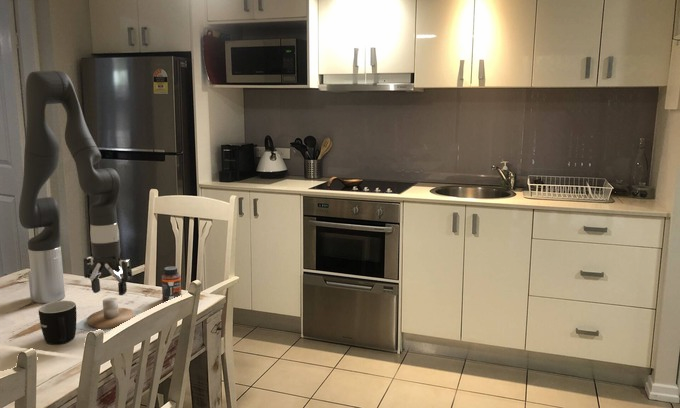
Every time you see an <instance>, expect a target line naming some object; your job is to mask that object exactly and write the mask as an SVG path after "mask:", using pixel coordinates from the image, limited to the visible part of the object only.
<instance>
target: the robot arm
mask: <svg viewBox="0 0 680 408" xmlns="http://www.w3.org/2000/svg"><path fill="white" fill-rule="evenodd" d="M25 104H26V105H25V106H26V107H25V108H26V129H25V130H26V131H25V132H26V133H25V142H24V153H23V154H24V156H23V178H22V186H21V194H20V200H19V204H18V219H19V223H20V225H21V227H22V228H24V229H27V230H29V229H31V230H32V229H40V228H43V230H42V231H40V232H39V233H38V234H37V235H34V236H33V237H30V239H28V241H27V249H28V250H27V251H28V258H29V259H28V260H29V268H30V270H29V271H28V272H27V275H28V285H29V295H30V300H31V301H33V302H34V303H38V304H47V303H50V302H55V301H62V300H63V299H64V298H65V297H66V293H65V292H66V290H65V280H64V279H65V278H64V268H63V267H64V266H63V257H62V256H63V255H62V248H61V236H62V235H61V214H60V206H59V203H58V201H57V200H56V199H55V198H54V197H53V196H46V197H38V196H39V193H40V191H41V189H42V188H43V186H44V185H45V184H46V183H47V181H48V180H50V178H51V177H52V175H53V174H54V173H55V172H56V170H57V168H58V166H59V162H60V142H59V140H58V138H57V136H56V135H55V133H54V132H53V130H52V129H51V127H50V126H49V124H48V122H47V120H46V118H47V117H46V106H47V105H53V104H54V105H55V104H61V105H62V106H63V108H64V111H65V113H66V124H65V128H64V129H65V130H64V139H65V140H64V141H65V145H66V146H67V148H68V151H69V153H70V154H71V157H72V158H73V161H74V163H75V166H76V167H75V168H76V172H77V178H78V183H79V186H80V188H81V190H82V192H84V193H85V194H86V195H88V196H91V197H93V196H99V195H100V197H99V199H98V200H97V201H96V202H94V203H91V204H90V205H89V213H88V214H89V223H90V225H89V226H90V228H89V229H90V230H89V234H90V235H89V236H90V246H91V255H92V256H91V255H89V256H88V257H87V256H86V257H84V258H83V274H84V275H83V276H84V278H85V279H88V280H90V282H91V283H90V284H91V291H92V292H93V294H97V293H99V292H100V291H101V283H100V282H101V281H100V278H99V277H100V276H101V275H105V274H107V275H111V276H112V277H113V278H114V279H116V280H117V282H118V283H117V285H118V286H117V288H118V296H124V295H126V293H127V292H128V289H127V282H128V281H130V280H132V279H133V270H132V264H131V260H130V258H126V259H121V257H120V254H121V243H120V230H119V225H118V218H117V217H118V216H117V215H118V214H117V205H118V201H119V196H120V192H121V191H120V190H121V178H120V177H121V176H120V175H119V173H118V172H117V171H116V170H115V169H114V168H111V167H107V168H97V169H95V168H94V165H97V164H98V163H99V162H100V161H101V160H102V154H101V151H100V150H99V148H98V146H97V143H96V142H95V140H94V138H93V136H92V135H91V132H90V130H89V127H88V126H87V123H86V121H85V117H84V113H83V110H82V108H81V104H80V101H79V98H78V96H77V92H76V88H75V86H74V84H73V82H72V80H71V78H70V76H69V75H68V74H67V73H66V72H65V71H60V70H44V71H43V70H37V71H35V70H34V71H32V72H30V73H28V75H27V78H26V81H25Z"/></svg>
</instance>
